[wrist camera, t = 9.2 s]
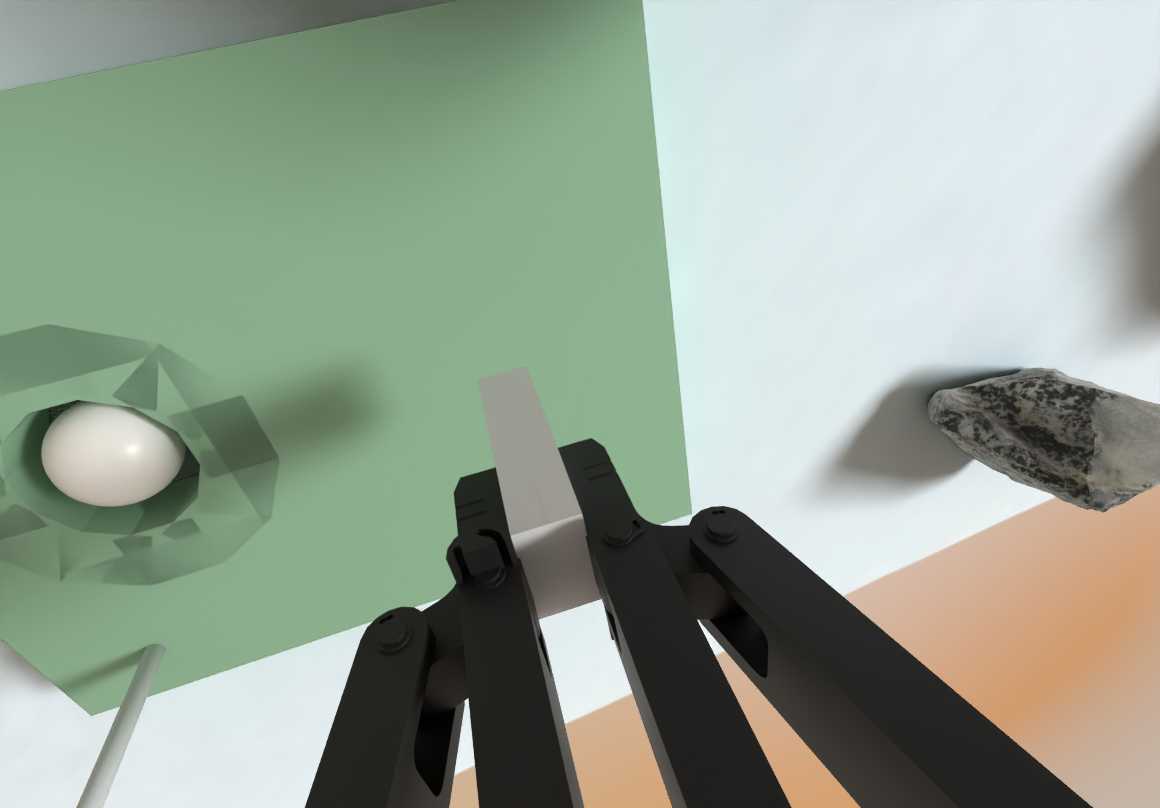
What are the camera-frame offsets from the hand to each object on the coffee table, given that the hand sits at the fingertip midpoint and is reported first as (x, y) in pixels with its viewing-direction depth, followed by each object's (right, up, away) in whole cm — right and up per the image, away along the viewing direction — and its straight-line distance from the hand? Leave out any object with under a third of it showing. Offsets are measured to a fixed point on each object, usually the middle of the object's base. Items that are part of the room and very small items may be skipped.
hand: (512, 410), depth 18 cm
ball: (-14, -1, +3) cm, 15 cm away
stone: (+27, +1, +18) cm, 32 cm away
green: (-9, +1, +6) cm, 11 cm away
